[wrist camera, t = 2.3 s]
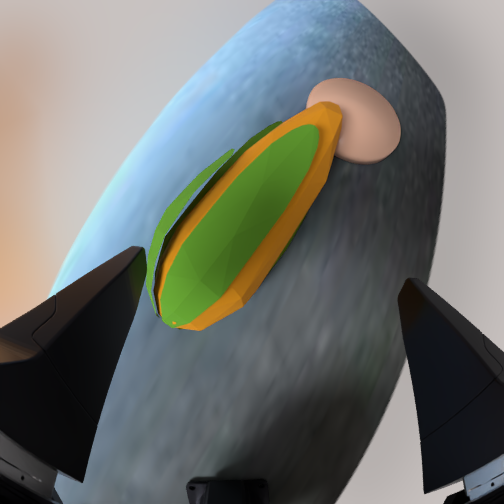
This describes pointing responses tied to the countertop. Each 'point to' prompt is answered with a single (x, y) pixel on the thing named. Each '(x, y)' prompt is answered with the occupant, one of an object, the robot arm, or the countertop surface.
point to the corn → (240, 219)
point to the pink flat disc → (360, 120)
